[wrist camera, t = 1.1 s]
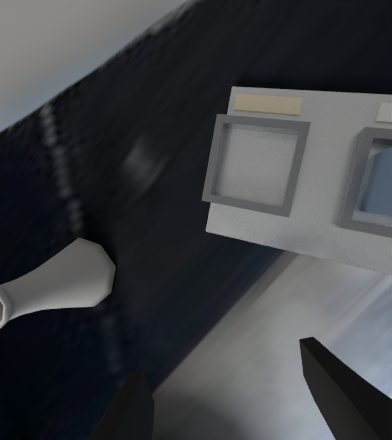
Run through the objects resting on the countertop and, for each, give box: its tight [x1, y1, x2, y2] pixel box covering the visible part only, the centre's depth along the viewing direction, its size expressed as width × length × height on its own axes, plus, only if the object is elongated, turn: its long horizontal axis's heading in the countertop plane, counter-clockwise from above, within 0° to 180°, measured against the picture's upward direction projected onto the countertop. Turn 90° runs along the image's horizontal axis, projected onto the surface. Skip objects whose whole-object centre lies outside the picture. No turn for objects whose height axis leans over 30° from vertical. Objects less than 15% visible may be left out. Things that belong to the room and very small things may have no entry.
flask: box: [0, 237, 116, 328], centre depth 23 cm, size 7×7×10 cm
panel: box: [202, 87, 392, 275], centre depth 19 cm, size 17×12×3 cm
